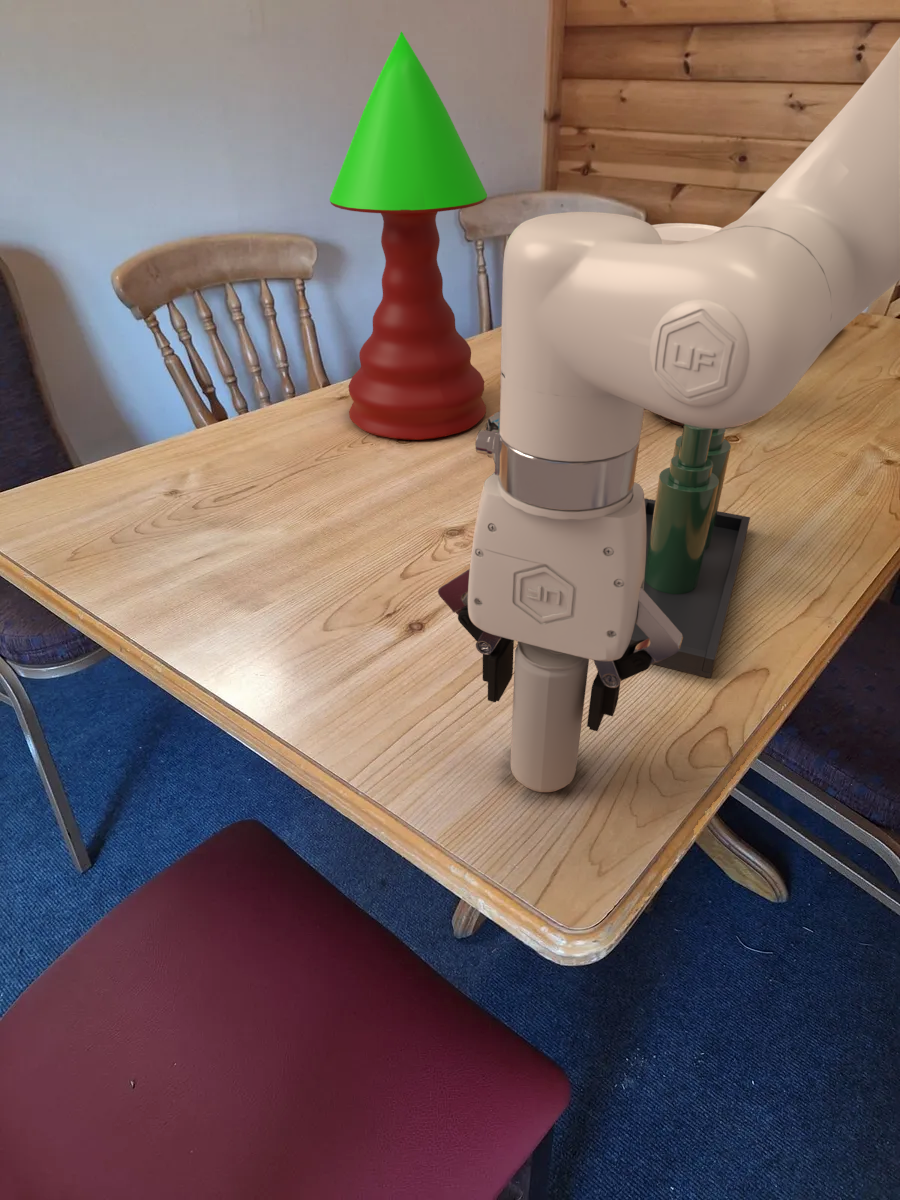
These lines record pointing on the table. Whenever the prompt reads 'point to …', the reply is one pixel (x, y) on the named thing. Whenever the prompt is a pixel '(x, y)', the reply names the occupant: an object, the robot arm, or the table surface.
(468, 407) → the table lamp
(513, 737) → the beverage can
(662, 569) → the middle bottle
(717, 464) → the far bottle
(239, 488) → the table surface
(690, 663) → the tray
